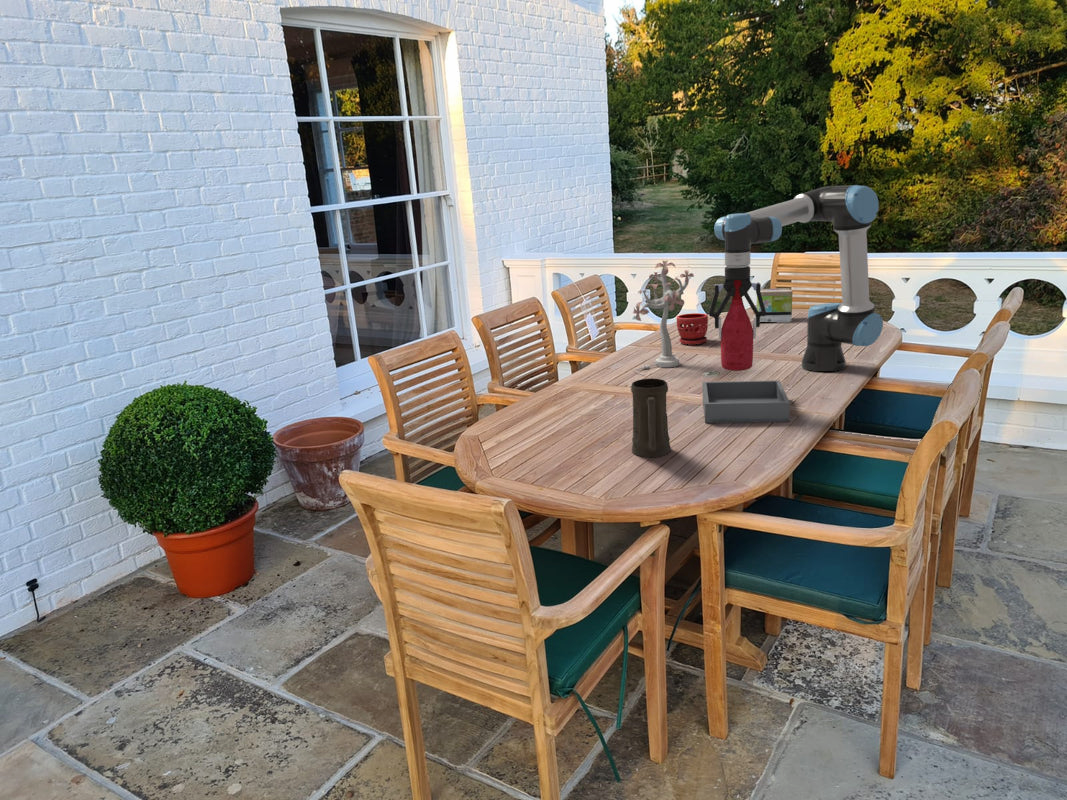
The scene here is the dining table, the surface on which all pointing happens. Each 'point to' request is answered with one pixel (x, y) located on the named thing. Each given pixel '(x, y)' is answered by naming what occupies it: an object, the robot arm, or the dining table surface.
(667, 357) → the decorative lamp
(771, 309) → the tea box
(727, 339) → the wine bottle
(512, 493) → the dining table surface
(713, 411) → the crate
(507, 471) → the dining table surface
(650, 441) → the beer stein
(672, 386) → the dining table surface
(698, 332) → the plant pot
